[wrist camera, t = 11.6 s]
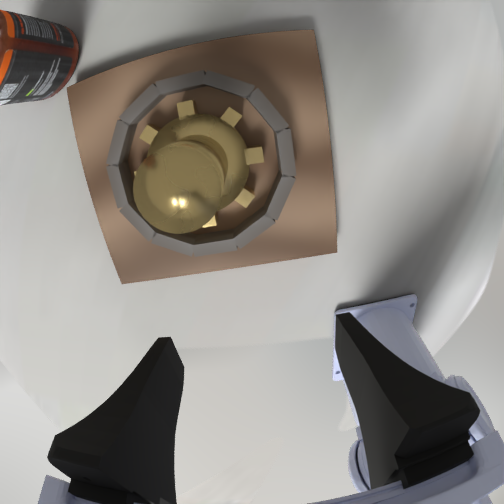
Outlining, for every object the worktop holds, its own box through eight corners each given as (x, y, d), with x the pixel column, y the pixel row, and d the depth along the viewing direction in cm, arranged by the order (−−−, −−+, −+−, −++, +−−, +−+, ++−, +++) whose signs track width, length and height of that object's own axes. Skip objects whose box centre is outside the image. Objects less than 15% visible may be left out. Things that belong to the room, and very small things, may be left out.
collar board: (332, 244, 21) (343, 263, 19) (126, 275, 22) (115, 296, 20) (309, 34, 15) (320, 23, 12) (75, 88, 15) (53, 87, 13)
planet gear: (270, 210, 19) (283, 262, 13) (156, 229, 19) (121, 284, 13) (252, 90, 15) (258, 77, 9) (129, 117, 16) (73, 125, 10)
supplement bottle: (42, 21, 12) (-63, 2, 2) (96, 34, 14) (-16, 0, 4) (13, 90, 15) (-97, 109, 4) (61, 110, 16) (-60, 135, 6)
